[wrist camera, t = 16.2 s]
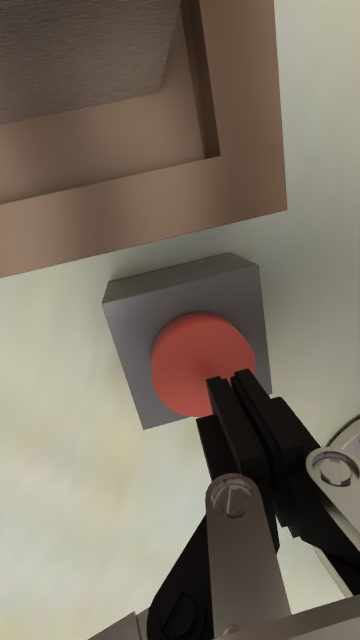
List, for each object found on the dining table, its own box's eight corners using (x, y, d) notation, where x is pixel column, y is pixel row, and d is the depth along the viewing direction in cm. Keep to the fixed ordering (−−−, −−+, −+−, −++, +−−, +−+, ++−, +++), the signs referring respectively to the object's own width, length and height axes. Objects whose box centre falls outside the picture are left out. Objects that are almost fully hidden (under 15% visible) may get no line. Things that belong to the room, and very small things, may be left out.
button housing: (229, 252, 17) (258, 265, 13) (245, 358, 19) (272, 393, 16) (108, 282, 16) (101, 304, 12) (140, 386, 19) (143, 429, 15)
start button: (235, 301, 13) (249, 312, 12) (247, 382, 15) (260, 401, 13) (139, 325, 13) (140, 340, 11) (162, 405, 15) (166, 427, 13)
